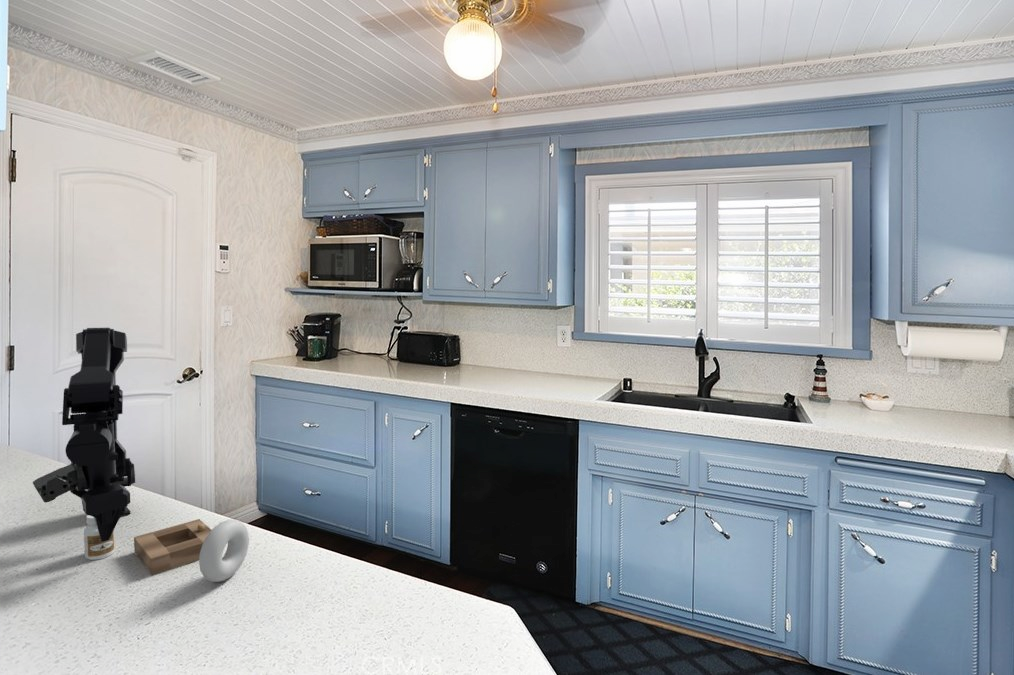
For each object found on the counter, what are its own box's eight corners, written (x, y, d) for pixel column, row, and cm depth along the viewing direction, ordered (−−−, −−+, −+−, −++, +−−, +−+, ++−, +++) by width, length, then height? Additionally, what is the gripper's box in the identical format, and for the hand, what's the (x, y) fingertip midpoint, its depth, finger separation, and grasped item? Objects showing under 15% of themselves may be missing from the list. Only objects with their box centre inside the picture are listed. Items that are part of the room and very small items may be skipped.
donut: (213, 595, 86) (211, 536, 85) (194, 592, 87) (192, 533, 86) (254, 564, 96) (253, 511, 95) (237, 562, 97) (235, 508, 96)
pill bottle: (89, 563, 95) (87, 521, 94) (81, 555, 98) (79, 514, 97) (118, 553, 98) (116, 513, 98) (110, 546, 101) (108, 506, 100)
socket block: (134, 552, 99) (133, 531, 99) (199, 533, 107) (199, 514, 107) (151, 575, 92) (150, 553, 91) (220, 552, 100) (219, 532, 99)
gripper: (28, 446, 96) (33, 529, 98) (44, 473, 84) (50, 567, 85) (104, 434, 105) (107, 511, 106) (129, 457, 92) (133, 544, 94)
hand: (99, 532), depth 98 cm, fingers open, 9 cm apart
